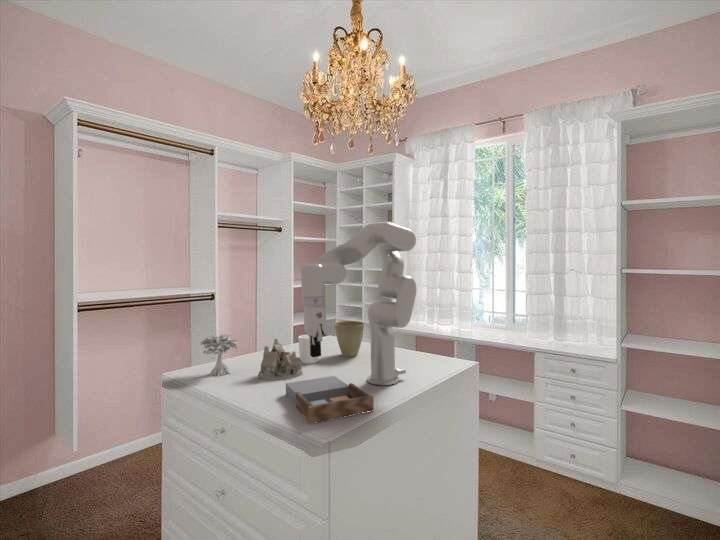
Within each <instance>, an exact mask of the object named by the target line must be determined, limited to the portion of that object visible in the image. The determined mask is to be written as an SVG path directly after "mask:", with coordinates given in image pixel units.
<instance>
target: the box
mask: <svg viewBox="0 0 720 540" xmlns="http://www.w3.org/2000/svg"><path fill="white" fill-rule="evenodd" d="M348 385H349V398H350V399H346V400H340V401H335V402H330V403H329V402H328V403H324V404H319V405H312V404H311V403H310V402H309V401H308V400H307V399H306V398H305V397H304V396H303V395H302V394H301V393H300V392H296V405H295V408H296V409H297V410H298V412H299V413H302V414H303V415H304V416H305V417H306V418H305V417H304V416H303V415H302V414H301V415H302V416H303V417H304V418H305V419H306V420H307V424H309V425H312V424H311V423H314V424H316V423H315V422H319V423H323V422H322V421H324V422H328V421H327V420H329V421H332V420H331V419H334V420H336V419H335V418H339V419H341V418H340V417H344V416H349V415H353V414H358V413H362V412H367V411H372V410H373V411H374V395H372V394H369V393H368V392H367V391H365V390H363V389H362V388H360V387H358V386H357V385H356V384H354V383H348ZM349 417H350V416H349ZM344 418H345V417H344Z"/></svg>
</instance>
